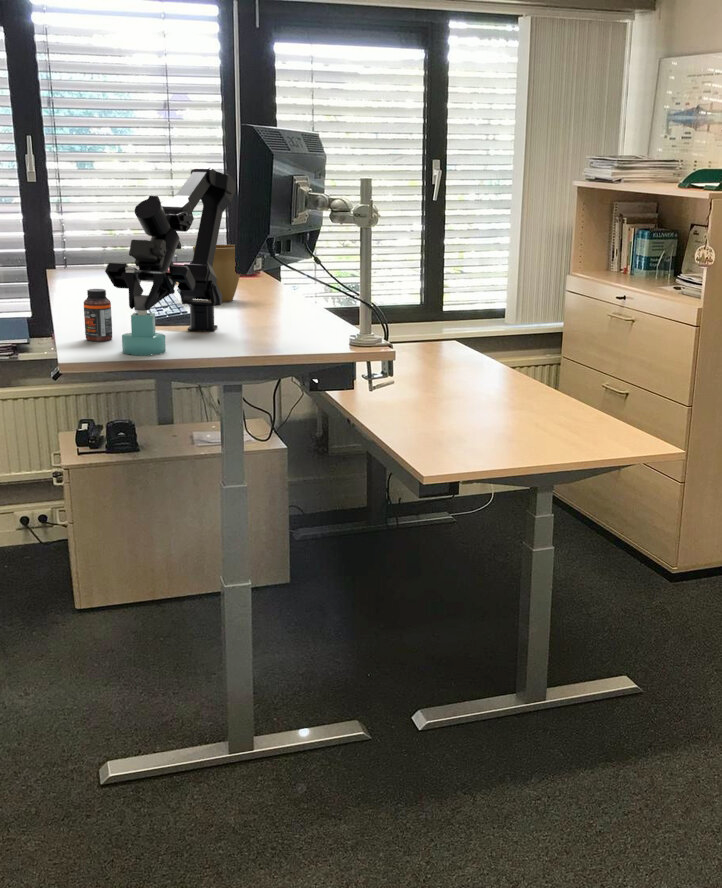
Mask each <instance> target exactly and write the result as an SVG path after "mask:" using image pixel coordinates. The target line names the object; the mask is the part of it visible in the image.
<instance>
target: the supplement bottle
mask: <svg viewBox="0 0 722 888" xmlns="http://www.w3.org/2000/svg"><path fill="white" fill-rule="evenodd" d="M86 291H87V292H86V293H87V295H86V296H87V297H86V299H85V300H84V301H83V313H84V314H83V315H84V317H83V319H84V334H85V339H86V340H87V341H89V342H107V341H110V340H112V339H113V320H112V318H113V317H112V304H111V303H112V302H111V300H110V299H108V298H107V290H106V289H103V288H89V289H87V290H86Z"/></svg>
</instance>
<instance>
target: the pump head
mask: <svg viewBox="0 0 722 888" xmlns="http://www.w3.org/2000/svg"><path fill="white" fill-rule="evenodd" d="M148 296H149V294H148V295H146V294H145V295H144V294H142V295H136V296H134V308H133V309H134V311H137V313H138V315H147V313H148V311H150V310H151V308H150V309H149V310H146V308H145V304H146V301H147V298H148Z"/></svg>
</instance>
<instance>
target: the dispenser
mask: <svg viewBox="0 0 722 888" xmlns="http://www.w3.org/2000/svg"><path fill="white" fill-rule="evenodd" d="M130 323H131V324H130V325H131V327H130V329H131V332H128V333H124V334H122V335H121V343H122V344H121V345H122V348H121V349H122V350H121V351H122V353H123V354H125V355H129V354H131V355H130V356H152V355H151V354H158V355H161V354H160V353H162V354H164V352H165V351H166V345H167V344H166V335H165V334H163V333H160V332H156V312H147V315H138V312H133V313H132V314H131V315H130ZM165 353H166V352H165Z"/></svg>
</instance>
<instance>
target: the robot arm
mask: <svg viewBox="0 0 722 888" xmlns="http://www.w3.org/2000/svg"><path fill="white" fill-rule="evenodd" d="M236 184H237V183H236V181H235V179H234V178H232V176H231V175H230V174H225V173H223V172H219V171H217V170H215V169H214V168H211V167H199V166H197V167H194V168H192V169H191V170H190V174H189V176H188V178H187V179H186V180H185V182H184V183H183V185H182V186H181V188H179V190H178V192H177V193H176V194H175V195H174V197H171V198H169V199H166V200H164V201H163V202H162V203H161V199H160V198H159V196H158V195H149V196H148V198H147V199H144V200H142V201H141V202H139V203H138V204H137V205H136V206H135V207H134V215H135V217H136V218H137V221H138V222H139V224H140V225H141V228H142V229H143V232H144V233H145V235H147V236H148V237H149V236H150V240H147V239H131V240H130V247H129V251H128V256H130V257H132V258H134V259H135V260H134V264H135V266H136V267H138V268H136V267H133V266H132V267H131V266H128V264H127V263H126V262H109V263H107V265H106V267H105V270H104V272H105V274H106V275H107V277H108V278H109V280H110V282H111V283H112V286H113V287H114V288H117V289H128V306H129V309H130V310H133V309H134V296H136V295H143V292H144V289H143V287H142V286H141V282H149V283H150V282H151V283H152V286H151V288H150V290H149V293H148V298H147V301H146V304H145V308H146V310H147V311H150V310H151V308H153V307H154V306H155V305H157V304H158V303H159V302H161V301H162V300H164V299H165V298H166V297H168V296H169V295H174V294H175V292H176V291H175V286H176V285H177V284H178V285H177V289H178V291H179V295H180V300H181V304H182V305H189V309H190V310H189V314H190V315H189V317H190V325H189V326H188V327H187V328H186V329H187V330H201V331H200V332H215V331H216V330H217V328H218V324H217V325H216V324H215V307H216V306H217V307H218V306H222V303H223V302H222V294H221V292H220V290H219V288H218V286H217V283H216V282H217V277H216V275H215V273H214V270H213V268H212V266H213V260H214V255H215V250H216V245H218V238H219V235H220V234H219V232H220V229H221V222H222V217H223V213H224V212H225V210H227V208H228V207H229V206H230V205H231V204H232V201H233V197H234V195H235V193H236V189H237V186H236ZM200 201H201V203H202V211H201V215H200V220H199V221H200V222H199V226H198V231H197V235H196V242H195V245H194V246H195V251H193V257H192V261H190V263H184V265H174V262H173V258H174V255H175V253H176V250H182V244H181V241H180V239H181V238H180V236H179V234H178V232H182V233H183V232H184V233H185V232H188V231H189V230H190V228H191V226H192V224H193V222H194V220H195V219H194V214H193V211H194V209H195V208H196V207H197V205H198V204H199V202H200ZM168 271H169V272H168ZM210 299H211V300H210ZM149 309H150V310H149Z"/></svg>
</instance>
